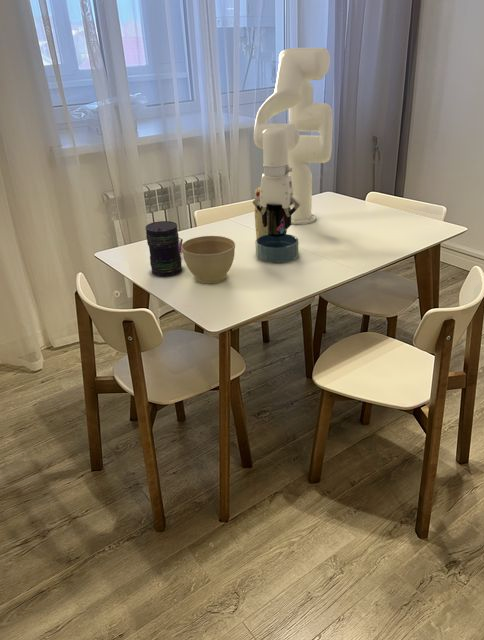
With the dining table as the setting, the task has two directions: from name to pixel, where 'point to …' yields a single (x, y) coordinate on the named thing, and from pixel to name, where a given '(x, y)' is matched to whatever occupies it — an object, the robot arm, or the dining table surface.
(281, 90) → the robot arm
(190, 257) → the planter bowl
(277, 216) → the supplement container
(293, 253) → the basin
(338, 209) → the dining table surface
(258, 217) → the food model
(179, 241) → the pink toy figurine
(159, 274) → the storage jar
